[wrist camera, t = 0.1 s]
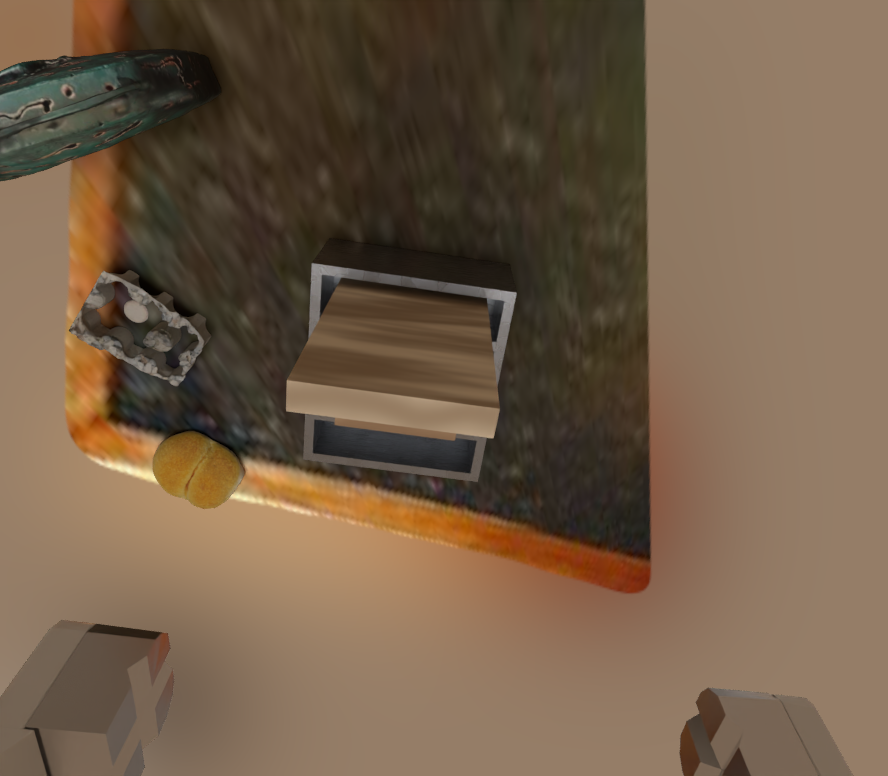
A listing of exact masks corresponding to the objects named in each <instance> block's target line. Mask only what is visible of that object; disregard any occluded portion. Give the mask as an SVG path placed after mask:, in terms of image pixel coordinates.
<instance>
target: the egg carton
mask: <svg viewBox="0 0 888 776" xmlns="http://www.w3.org/2000/svg"><path fill="white" fill-rule="evenodd" d="M114 281H120V282H122V283H123V284H124V285H125V286H127V287H128V292H129V296H130V297H132V299H134V300H130V301H128V302H126V304H125V305H124V313H125V314H126V316H127V317H128V318H129V319H130V320H132V321H133V322H138V323H141V322H144V321H146V320H147V318H148V310H147V308H146V307H145V305H147V304H149V303H150V302H151V301H154V303H155V305H156V306H158V307H159V305H162V307H159V310H160V311H161V312H162V313H163V314H162V319H163V320H165V321H162V322H160V323H159V324H158V325H157V326H155V327H154V328H153V329H152V330H151V331H150V332H149V333H147V335H146V337H145V338H144V340H143V343H144V345H145V346H147V348H145V349H143V348H141V347H139V346H136V345H134V337H133V335H132V333H131V332H130V331H129V330H128V329H126V328H123V327H114V328H112V329H111V330H110V329H108V328H106V327H105V326H103V325H102V324H101V317H100V315H99V313H98V312H97V311H96V310H95V309H99V308H101V307H103V306H104V305H106V304H107V303H109V302H110V301H111V300H112V299H113V298H114V296H115V290H114V287H113V286H112V284H111V282H114ZM173 299H174V298H173V297H172V296H170V295H169V294H167V293H166V292H163V293H161V294H160V295H157V296H152V295H149V294H148V293H147V292H145V291H144V290H143V289H141V287H140V285H139V275H138V274H136V273H135V272H133V271H131V270H128V271H127V272H126V273H124V274H115V273H110V274H109V273H107V272H105V271H103V272H102V274H101V275H100V277H99V279H98V281H97V282H96V284H95V286H94V288H93V289H92V291H91V293H90V294H89V296H88V298H87V300H86V302H85V303H84V305H83V307H82V309H81V311H80V312H79V314H78V315H77V317H76V319H75V320H74V322H73V324H72V326H71V327H70V329H69V331H70V332H71V333H72V334H74V335H76V336H77V337H78V338H79V339H80V340H82V341H85V342H87V343H88V344H89V345H91V346H93V347H95V348H98V349H99V350H103V349H105V350H107V351H109V352H110V353H111V354H113V355H114V356H115V357H117V358H118V359H123V360H125V361H126V362H128V363H130V364H132V365H134V366H135V367H136V368H138V369H139V370H141V371H143V372H146V373H148V374H151V375H154V376H158V377H159V378H161V379H166V380H168V381H169V382H170V383H171V384H172V385H174V386H178V385H179V384H180V383H181V382H182V381H183V379H184V378H185V374H186V373H187V372H188V370H189V369H190V368H191V367H192V366H193V364H194V363H195V359H196V357H197V356H198V355H199V354H200V353H201V351H202V348H203V347H204V345H205V344H207V343H208V341H209V340H210V338H211V336H212V335H211V334H210V333H209V332H208V331H207V329H206V326H205V323H206V318H205V317H203V316H202V315H200V314H198V313H197V314H195V315H194V316H191V317H184V316H181V315H180V314H178V313H177V312H176V311H175V309H174V307H173ZM185 325H186V326H187V327H188V328H187V330H188V331H189V333H190V334H196V335H198V339H199V341H196V342H193V343H191V344H190V346H188V347H187V349H186V350H185V351H184V352H183V353H181V354H180V356H179V357H178V358H179V360H180V361H181V362H180V366H179V367H177V368H176V369H174V368H172V367H170V366H168V365H167V364H166V356H165V354H164V351H168V350H170V349H171V348H172V347H173V346H174V345H175V344H176V343H177V342H178V341H179V340H180V338H181V330H180V327H182V326H185Z"/></svg>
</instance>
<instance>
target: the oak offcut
mask: <svg viewBox="0 0 888 776" xmlns="http://www.w3.org/2000/svg"><path fill="white" fill-rule="evenodd" d="M335 425H338V426H346V427H353V428H361V429H369V430H376V431H384V432H391V433H399V434H407V435H414V436H422V437H429V438H437V439H445V440H452V441H455V437H456V433H449V432H441V431H433V430H426V429H418V428H411V427H403V426H396V425H388V424H381V423H373V422H365V421H358V420H350V419H343V418H335Z"/></svg>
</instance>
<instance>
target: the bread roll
mask: <svg viewBox="0 0 888 776" xmlns="http://www.w3.org/2000/svg"><path fill="white" fill-rule="evenodd" d="M153 473H154V475H155V478H156V479H157V481H158V483H159V484H160V485H161V486H162V488H163V489H164V490H165V491H166V492H167V493H169V494H171V495H173V496H176V497H180V498H184V499H187V500H188V501H189V502H190V503H191V504H193V505H194V506H196V507H200V508H203V509H208V508H215V507H217V506H219V505H221V504H222V503H224V502H225V501H227V500H228V499H229V498H230V496H231V495H232V494H233V492H234V491H235V489H236V488H237V486H238V485H239V484H240V482H241V480H242V478H243V477H244V470H243V467H242V465H241V464H240V462H239V460H238V458H237V456H236V455H235V454H234V453H233V452H232V451H231V450H230V449H228V448H227V447H225V446H223V445H221V444H219V443H218V442H215V441H213V440H212V439H210V438H209V437H207V436H205V435H203V434H201V433H199V432H195V431H187V432H183V433H179V434H176V435H173V436H171V437H169V438H167V439H166V440H164V441H163V442H162V443H161V444H160V445H159V447H158V448H157V450H156V452H155V455H154V457H153Z"/></svg>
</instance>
